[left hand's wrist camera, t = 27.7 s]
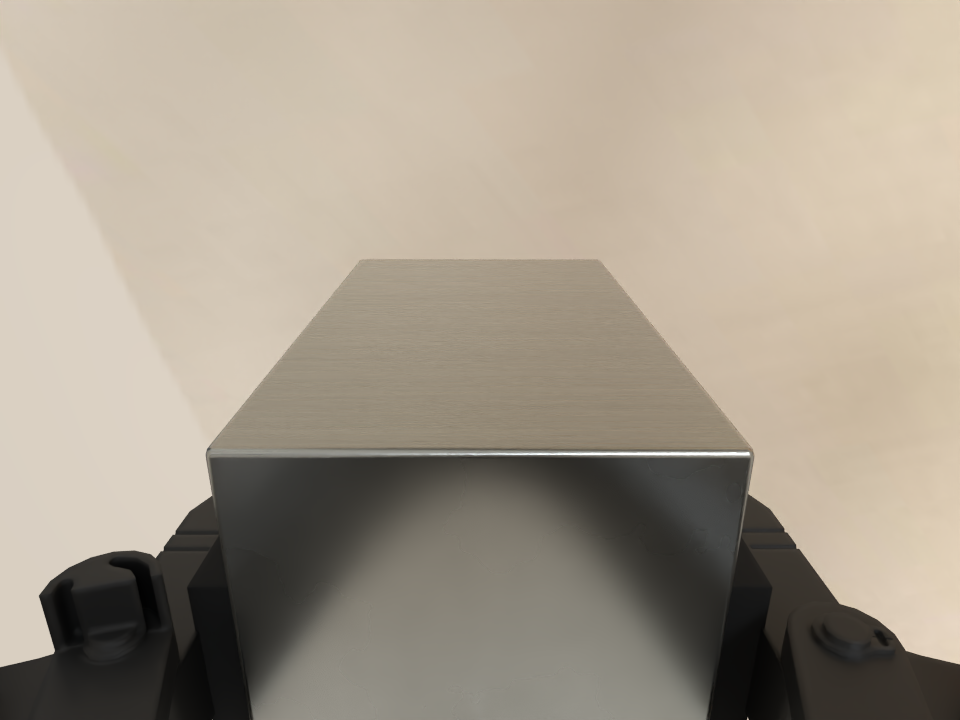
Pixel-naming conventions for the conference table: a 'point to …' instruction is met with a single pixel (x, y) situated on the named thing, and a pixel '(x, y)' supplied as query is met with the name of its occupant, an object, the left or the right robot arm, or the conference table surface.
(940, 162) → the conference table surface
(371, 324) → the metal block
